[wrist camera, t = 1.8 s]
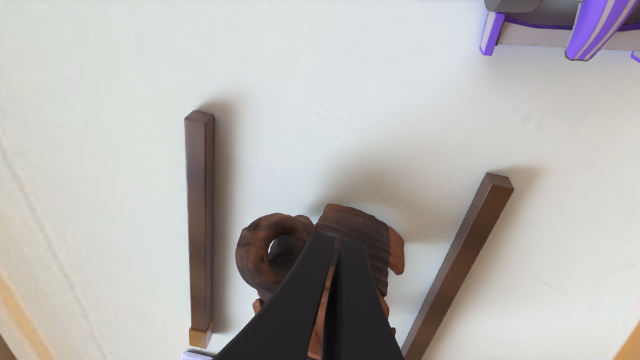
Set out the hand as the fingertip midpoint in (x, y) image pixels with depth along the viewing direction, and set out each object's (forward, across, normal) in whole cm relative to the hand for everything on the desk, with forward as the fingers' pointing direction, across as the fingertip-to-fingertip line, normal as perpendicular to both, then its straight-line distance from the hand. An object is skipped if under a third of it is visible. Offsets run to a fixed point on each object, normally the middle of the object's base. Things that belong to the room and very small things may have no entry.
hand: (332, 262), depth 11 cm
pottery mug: (+11, 0, +9) cm, 14 cm away
